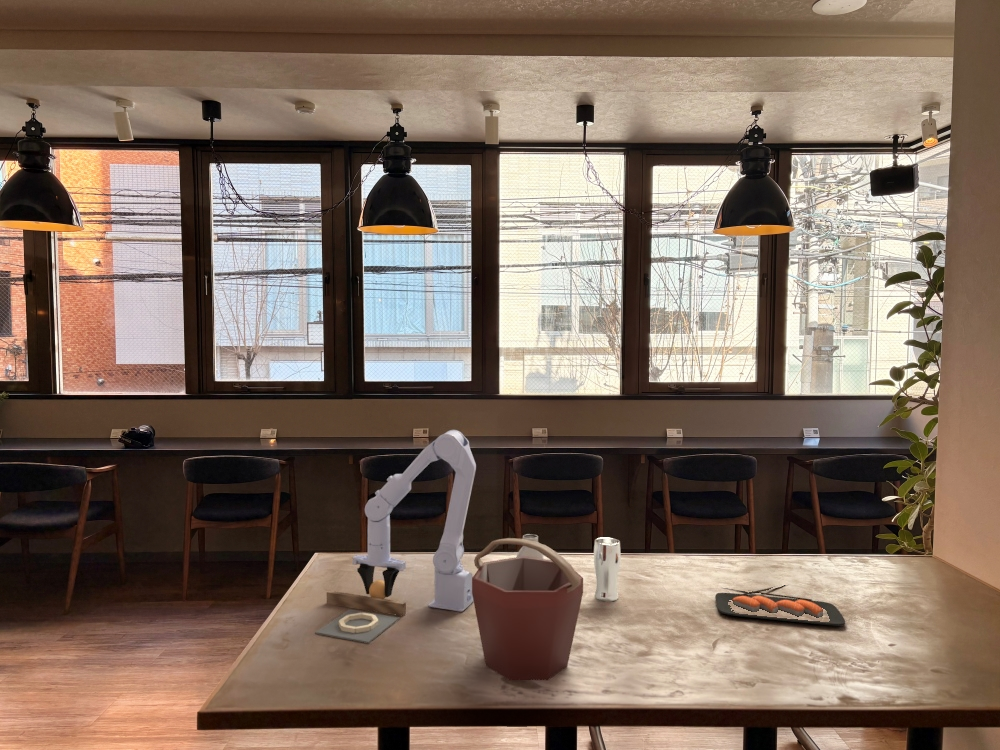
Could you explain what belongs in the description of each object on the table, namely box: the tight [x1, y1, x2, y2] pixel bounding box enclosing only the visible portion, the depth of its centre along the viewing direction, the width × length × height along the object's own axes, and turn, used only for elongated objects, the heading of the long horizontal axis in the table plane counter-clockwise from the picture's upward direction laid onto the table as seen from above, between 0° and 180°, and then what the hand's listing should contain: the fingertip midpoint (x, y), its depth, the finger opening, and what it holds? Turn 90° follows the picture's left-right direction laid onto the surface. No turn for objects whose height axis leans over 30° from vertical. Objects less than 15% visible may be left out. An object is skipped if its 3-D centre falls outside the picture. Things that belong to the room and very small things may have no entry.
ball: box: [368, 579, 386, 599], centre depth 169 cm, size 5×5×5 cm
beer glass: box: [593, 537, 621, 602], centre depth 172 cm, size 7×7×15 cm
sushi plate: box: [714, 586, 846, 627], centre depth 171 cm, size 29×30×4 cm
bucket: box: [472, 537, 584, 681], centre depth 136 cm, size 24×22×25 cm
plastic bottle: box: [516, 533, 544, 559], centre depth 158 cm, size 6×7×20 cm
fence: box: [326, 590, 407, 617], centre depth 163 cm, size 22×1×3 cm, turn 70°
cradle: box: [315, 608, 401, 644], centre depth 153 cm, size 14×14×1 cm
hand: (378, 594), depth 169 cm, fingers closed on ball, 5 cm apart
